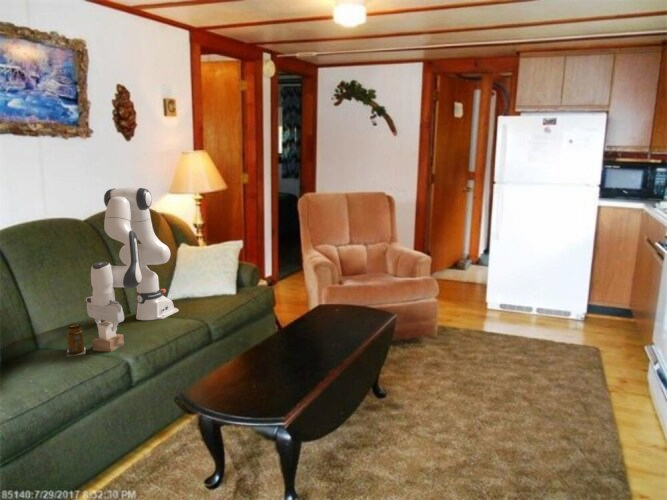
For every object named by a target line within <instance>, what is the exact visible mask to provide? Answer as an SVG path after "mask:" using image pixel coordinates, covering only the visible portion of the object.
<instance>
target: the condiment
mask: <svg viewBox="0 0 667 500" xmlns="http://www.w3.org/2000/svg"><path fill="white" fill-rule="evenodd" d="M66 329H67V333H66V337H67V345H68V346H67V347H68V349H67V350H66V357H74V356H80V355H85V354H86V353H87V352H86V351H87V350H86V347H85V343H84V336H83V334H84V333H83V330H82V325H81V324H80V323H72V324H68V325H67V327H66Z"/></svg>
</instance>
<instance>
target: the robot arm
mask: <svg viewBox="0 0 667 500" xmlns="http://www.w3.org/2000/svg"><path fill="white" fill-rule="evenodd" d="M152 201H153V197H152V194H151V191H149V189H147V188H143V187H140V188H139V187H121V188H111V189H108V190H106V191H105V193H104V196H103V203H104V205H105V207H106V209H105V215H104V223H103V224H104V225H103V226H104V227H103V229H104V233H106V235H107V236H108V237H109V238H111V239H112V240H116V241H117V242H120V243H122V244H123V246H122V247H121V248H120V250H119V253H118V254H119V256H118V257H119V259H120V261H121V263H123V264H124V265H111V263H110V262H109V261H98V262H94V264H92V265H91V269H90V281H91V283H90V284H91V286H92V295H91V296H88V297H86V298H85V302H86V311H87V316H88V317H89V318H92V319H94V321H95V323H96V326H97V328H98V325H99V323H101V322H102V321H110V322H112V324H113V327H111V329H112V331H114V332H115V331H116V332H117V331H118V325H119V323H122V322H124V320H125V313H124V311H123V310H124V309H123V307H122V304H120V303H119V301H116V294H115V289H114V288H126V289H135V288H136V292H135V295H136V301H137V310H136V316H135V318H136V320H138V321H139V320H140V321H153V320H164V319H166V318H168V317H169V316H171V315H174V314H175V313H178V312H179V309H178V308H177V307H175V306H174V303H173V300H171V299H170V298H168V297H167V296H165V295H164V294H165V293H166V292H167V290H166V288H160V282H159V276H158V274H157V273H156V272H155V271H153V270H151V269H150V268H149V267H148V266H151V265H152V266H153V265H154V266H157V265H162V264H166V263H168V262H169V260H170V258H171V255H172V254H171V250H170V248H169V246H168V245H167V244H166V243H163V242H162V241H161V240H160V239H159V238H158V237H157V235H156V234H155V230H154V227H153V223H152V218H151V216H152V215H151V212H150V207H151V206H152ZM139 242H140V243H139Z"/></svg>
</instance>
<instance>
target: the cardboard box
mask: <svg viewBox="0 0 667 500" xmlns="http://www.w3.org/2000/svg"><path fill="white" fill-rule="evenodd" d="M124 338H125V337H124V334H123V333H122V334H121V333H116V337H113V338H110V339H107V340H105V339H101V338H99V336H97V337H95V338H93V339H91V341H92V350H93V351H97V352H110V353H111V352H113V351H115V350H117V349H119V348H121V347H122V346H124V345H125V341H124V340H125V339H124Z"/></svg>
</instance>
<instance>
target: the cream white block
mask: <svg viewBox="0 0 667 500" xmlns="http://www.w3.org/2000/svg"><path fill="white" fill-rule="evenodd" d="M111 327H113V324H112V322H110V321H105V320H103V321H101V323H99V325H98V327H97V329H98V330H97V331H98V337H99V338H101V339H105V340H107V339H110V338H113V337H116V334H117V331H115V332H114V331H112V329H111Z"/></svg>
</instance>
